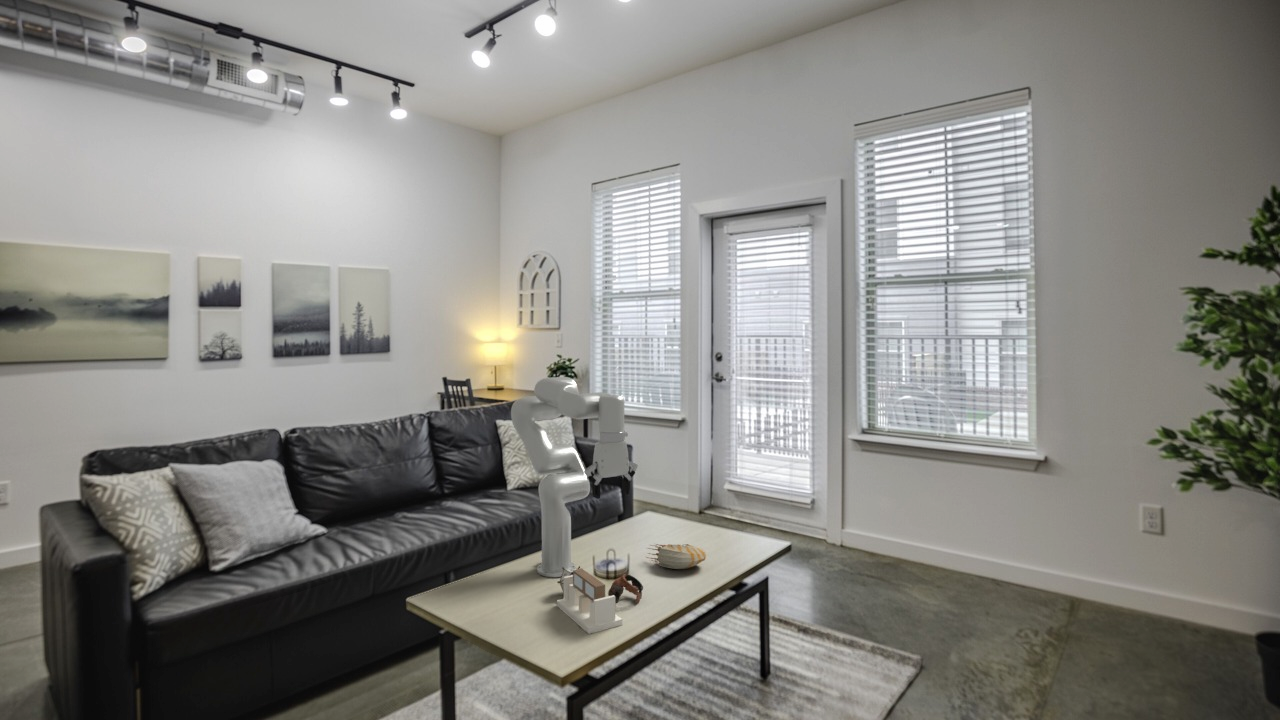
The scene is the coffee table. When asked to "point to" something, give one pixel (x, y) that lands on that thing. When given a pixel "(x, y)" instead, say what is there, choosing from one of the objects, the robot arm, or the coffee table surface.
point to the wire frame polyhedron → (565, 573)
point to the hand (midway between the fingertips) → (611, 495)
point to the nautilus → (678, 556)
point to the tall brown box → (588, 584)
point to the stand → (588, 609)
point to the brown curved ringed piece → (626, 587)
